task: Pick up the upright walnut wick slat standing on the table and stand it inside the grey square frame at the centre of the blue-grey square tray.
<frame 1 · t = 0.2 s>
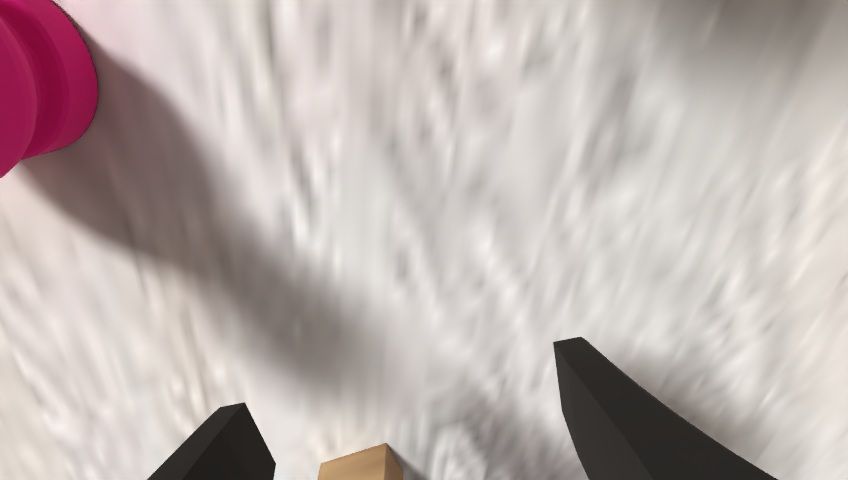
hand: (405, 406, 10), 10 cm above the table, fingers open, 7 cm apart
pepper mill: (15, 66, 16), on the table
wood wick: (362, 467, 25), on the table
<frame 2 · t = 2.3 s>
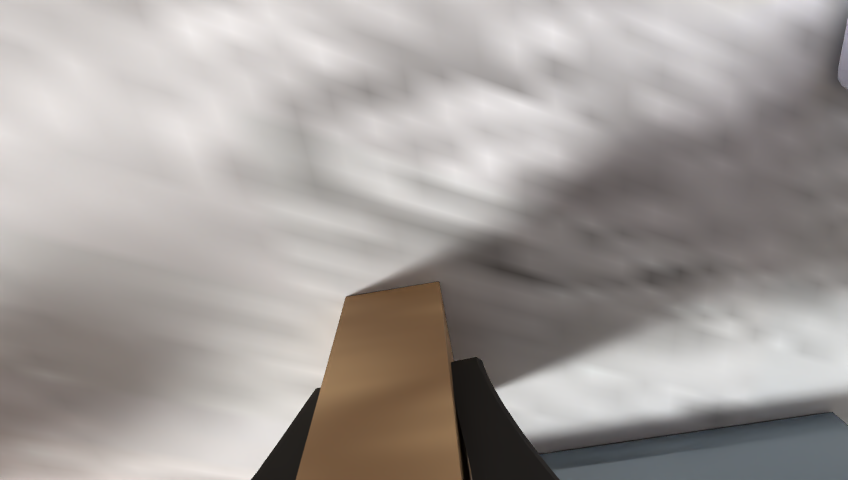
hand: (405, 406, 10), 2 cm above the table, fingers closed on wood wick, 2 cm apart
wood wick: (407, 352, 12), on the table, touching gripper
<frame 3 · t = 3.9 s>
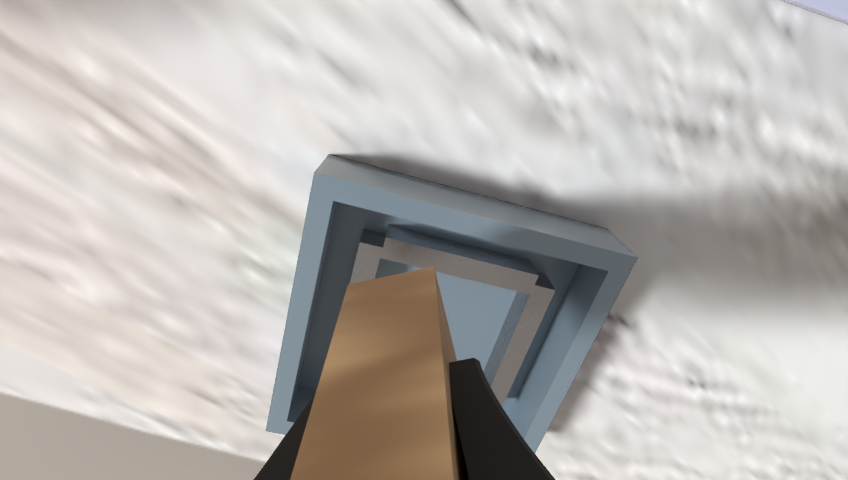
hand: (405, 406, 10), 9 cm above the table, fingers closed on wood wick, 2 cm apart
grey square frame: (434, 329, 19), in the blue-grey square tray, point 1 cm above the table
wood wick: (408, 335, 13), point 7 cm above the table, touching gripper
blue-grey square tray: (433, 313, 20), on the table
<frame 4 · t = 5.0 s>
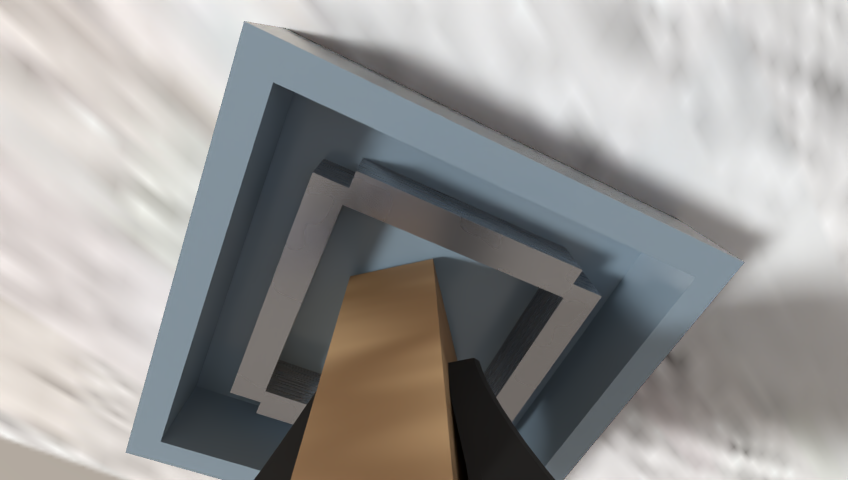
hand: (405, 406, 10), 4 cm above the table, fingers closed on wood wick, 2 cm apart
grey square frame: (408, 331, 13), in the blue-grey square tray, point 1 cm above the table
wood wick: (407, 326, 13), point 1 cm above the table, touching gripper
blue-grey square tray: (408, 307, 14), on the table
when the fingers open (3 cm above the table, at t = 5.5 s): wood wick stays where it is, resting on blue-grey square tray.
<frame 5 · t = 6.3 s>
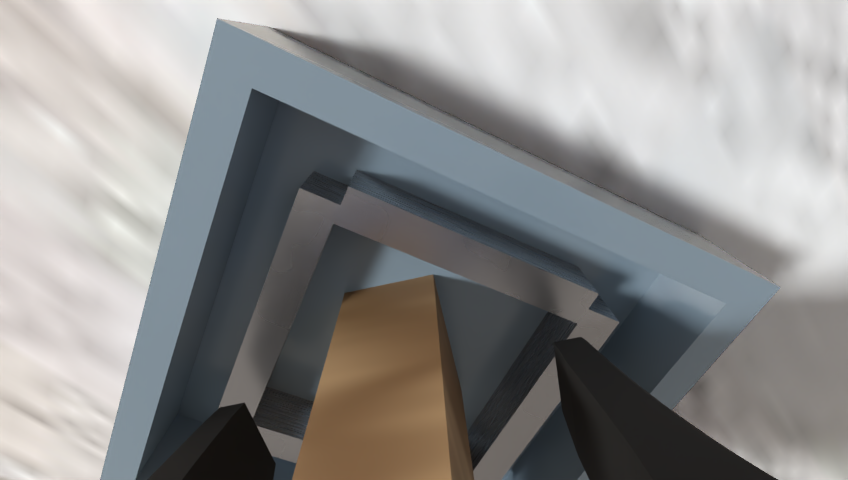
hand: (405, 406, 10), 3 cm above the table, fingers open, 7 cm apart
grey square frame: (406, 358, 12), in the blue-grey square tray, point 1 cm above the table
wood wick: (406, 344, 12), point 1 cm above the table, touching blue-grey square tray
blue-grey square tray: (407, 329, 13), on the table
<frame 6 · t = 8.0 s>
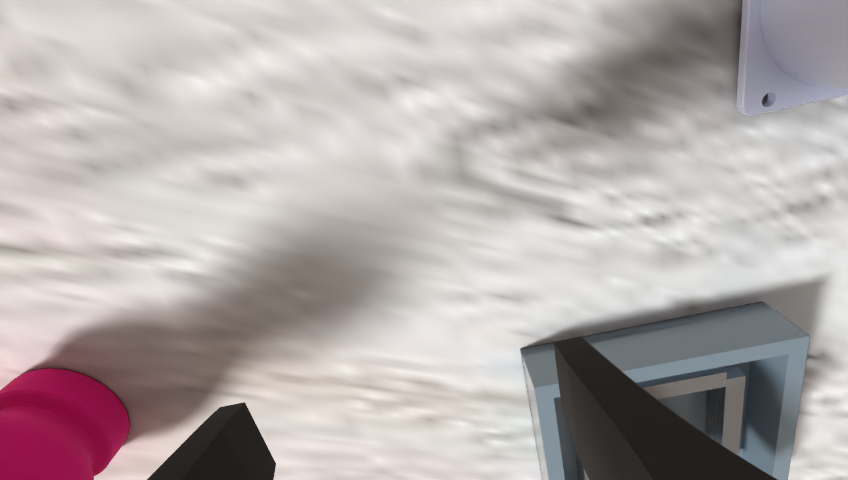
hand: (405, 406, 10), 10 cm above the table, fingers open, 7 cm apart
pepper mill: (72, 410, 23), on the table
grey square frame: (653, 433, 23), in the blue-grey square tray, point 1 cm above the table
blue-grey square tray: (642, 414, 24), on the table
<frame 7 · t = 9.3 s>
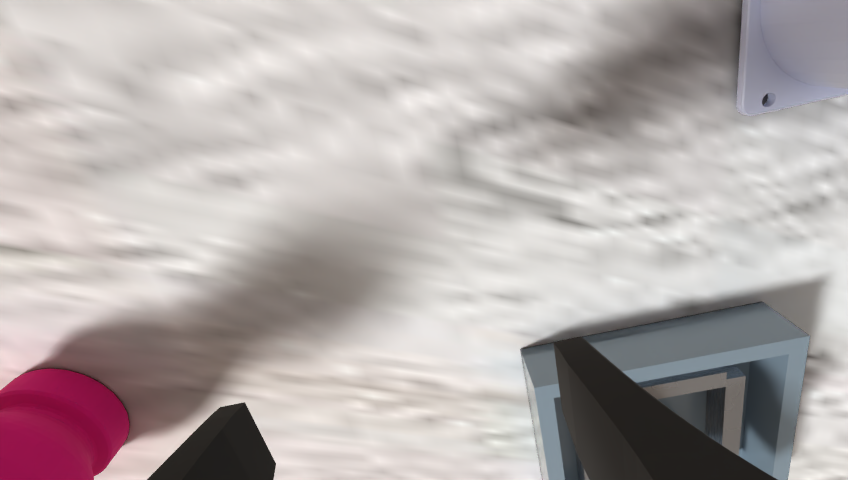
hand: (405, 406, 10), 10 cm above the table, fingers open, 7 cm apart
pepper mill: (72, 410, 23), on the table
grey square frame: (653, 433, 23), in the blue-grey square tray, point 1 cm above the table
blue-grey square tray: (642, 414, 24), on the table
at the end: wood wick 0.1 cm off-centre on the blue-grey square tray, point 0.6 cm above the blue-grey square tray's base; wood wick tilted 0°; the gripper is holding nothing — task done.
